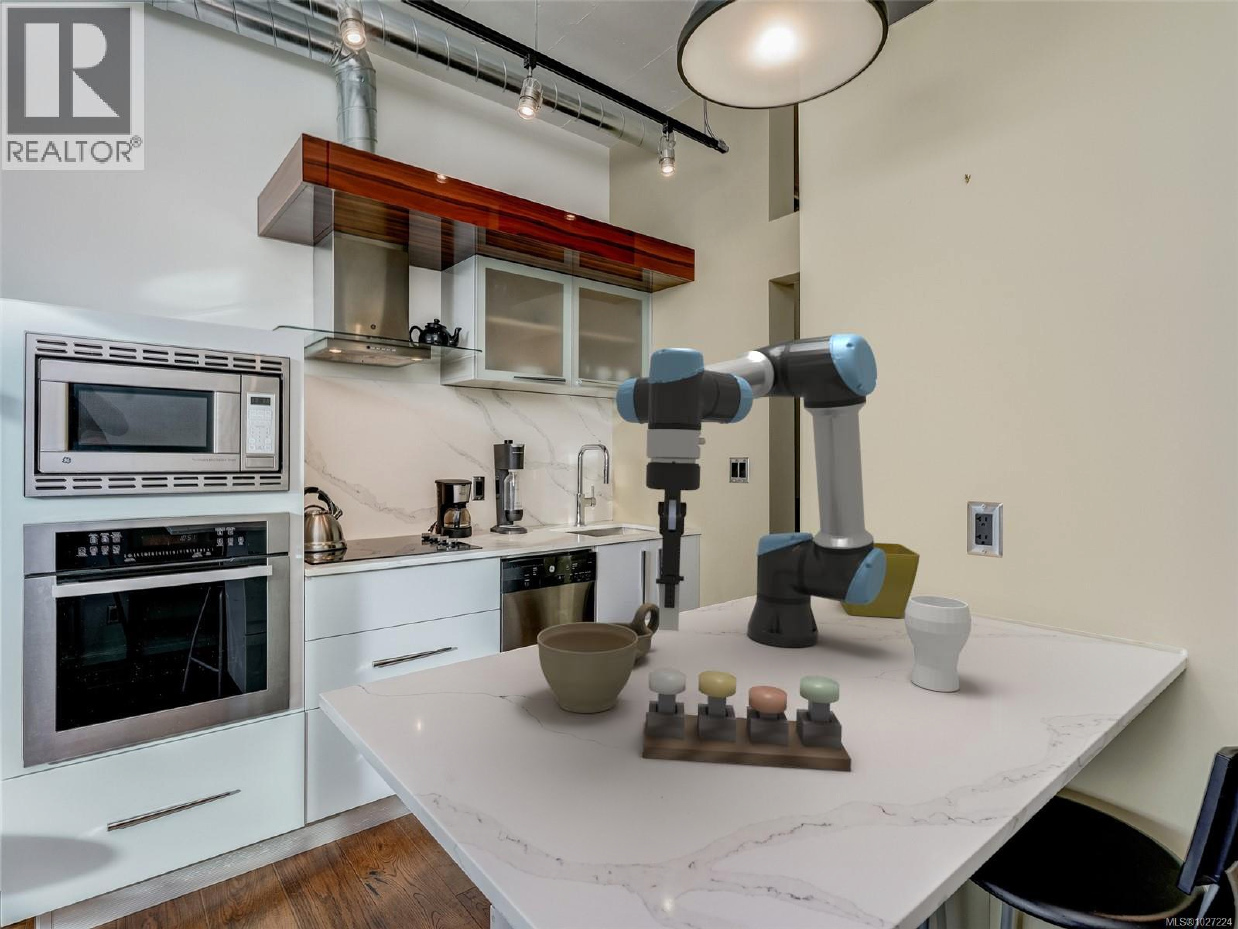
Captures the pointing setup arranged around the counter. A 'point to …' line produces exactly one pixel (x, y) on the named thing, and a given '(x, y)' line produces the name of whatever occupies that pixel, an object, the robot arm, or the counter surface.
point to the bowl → (643, 627)
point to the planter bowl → (587, 663)
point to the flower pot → (891, 584)
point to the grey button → (667, 687)
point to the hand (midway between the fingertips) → (668, 628)
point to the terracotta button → (767, 701)
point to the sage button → (819, 696)
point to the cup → (937, 639)
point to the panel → (744, 738)
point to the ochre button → (717, 690)
